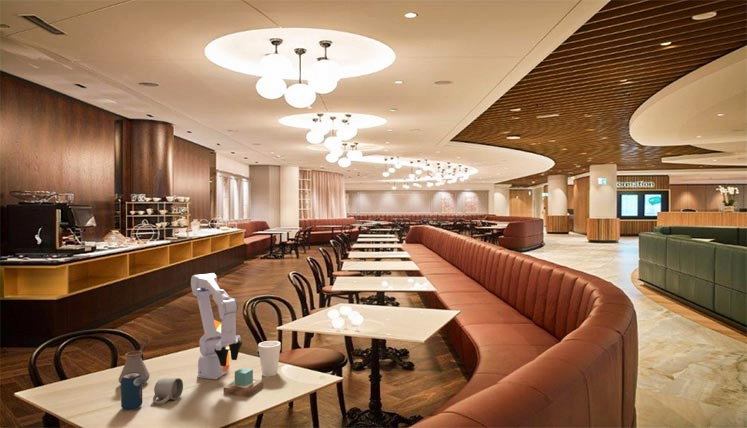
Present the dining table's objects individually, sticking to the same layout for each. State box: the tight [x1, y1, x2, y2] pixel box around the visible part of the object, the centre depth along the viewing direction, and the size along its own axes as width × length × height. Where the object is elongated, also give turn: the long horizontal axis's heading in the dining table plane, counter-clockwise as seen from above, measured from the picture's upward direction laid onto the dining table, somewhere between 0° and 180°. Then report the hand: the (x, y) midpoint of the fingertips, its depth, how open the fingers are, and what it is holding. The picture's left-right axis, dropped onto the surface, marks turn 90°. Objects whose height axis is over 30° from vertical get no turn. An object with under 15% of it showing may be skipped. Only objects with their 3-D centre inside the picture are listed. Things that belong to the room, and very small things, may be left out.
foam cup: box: [257, 340, 282, 377], centre depth 210 cm, size 10×9×13 cm
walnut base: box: [223, 378, 264, 397], centre depth 192 cm, size 11×11×3 cm
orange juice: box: [214, 319, 230, 368], centre depth 222 cm, size 8×9×20 cm
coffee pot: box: [118, 337, 151, 386], centre depth 203 cm, size 21×12×15 cm, turn 5°
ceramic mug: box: [152, 377, 184, 406], centre depth 183 cm, size 11×8×8 cm
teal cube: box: [234, 367, 254, 386], centre depth 192 cm, size 5×5×5 cm
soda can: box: [120, 372, 143, 412], centre depth 176 cm, size 7×7×12 cm
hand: (228, 362), depth 196 cm, fingers open, 7 cm apart
